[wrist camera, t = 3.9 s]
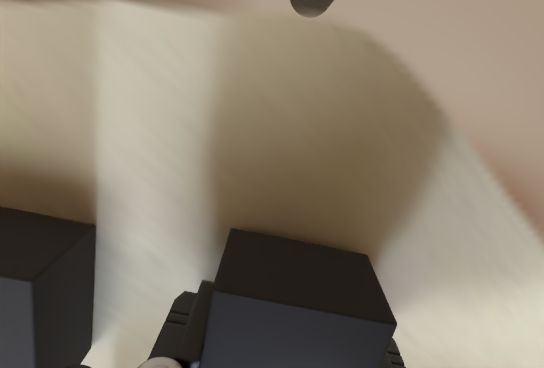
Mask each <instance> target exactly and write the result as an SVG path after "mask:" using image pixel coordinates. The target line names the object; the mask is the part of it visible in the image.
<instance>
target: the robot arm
mask: <svg viewBox="0 0 544 368" xmlns="http://www.w3.org/2000/svg"><path fill="white" fill-rule="evenodd" d="M213 285H214V282H211V281H206V280H202V282H201V284H200V287H199V290H198V293H192V292H186V291H184V292H183V293H182V294H181V295H180V296H178V297H177V298H176V299H175V300H174V303H173V305H172V307H171V309H170V312H169V314H168V316H167V318H166V321H165V323H164V325H163V327H162V329H161V331H160V334H159V336H158V338H157V340H156V343H155V345H154V347H153V349H152V351H151V354H150V356H149V358H148V359H147V361H145V362H143V363H142V364H141V365H140V366H139V367H138V368H200V365H201V360H202V354H203V349H204V345H203V338H204V332H205V326H206V321H207V315H208V309H209V304H210V298H211V292H212V288H213ZM63 368H91V367H89V366H86V365H70V366H66V367H63ZM379 368H406V367H404V362H403V360H402V357H401V356H400V352H399V350H398V347H397V345H396V342H395V341H394V339H393V338H391V341H390V343H389V346H388V348H387V350H386V353H385V355H384V358H383V360H382V362H381V365H380V367H379Z"/></svg>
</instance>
